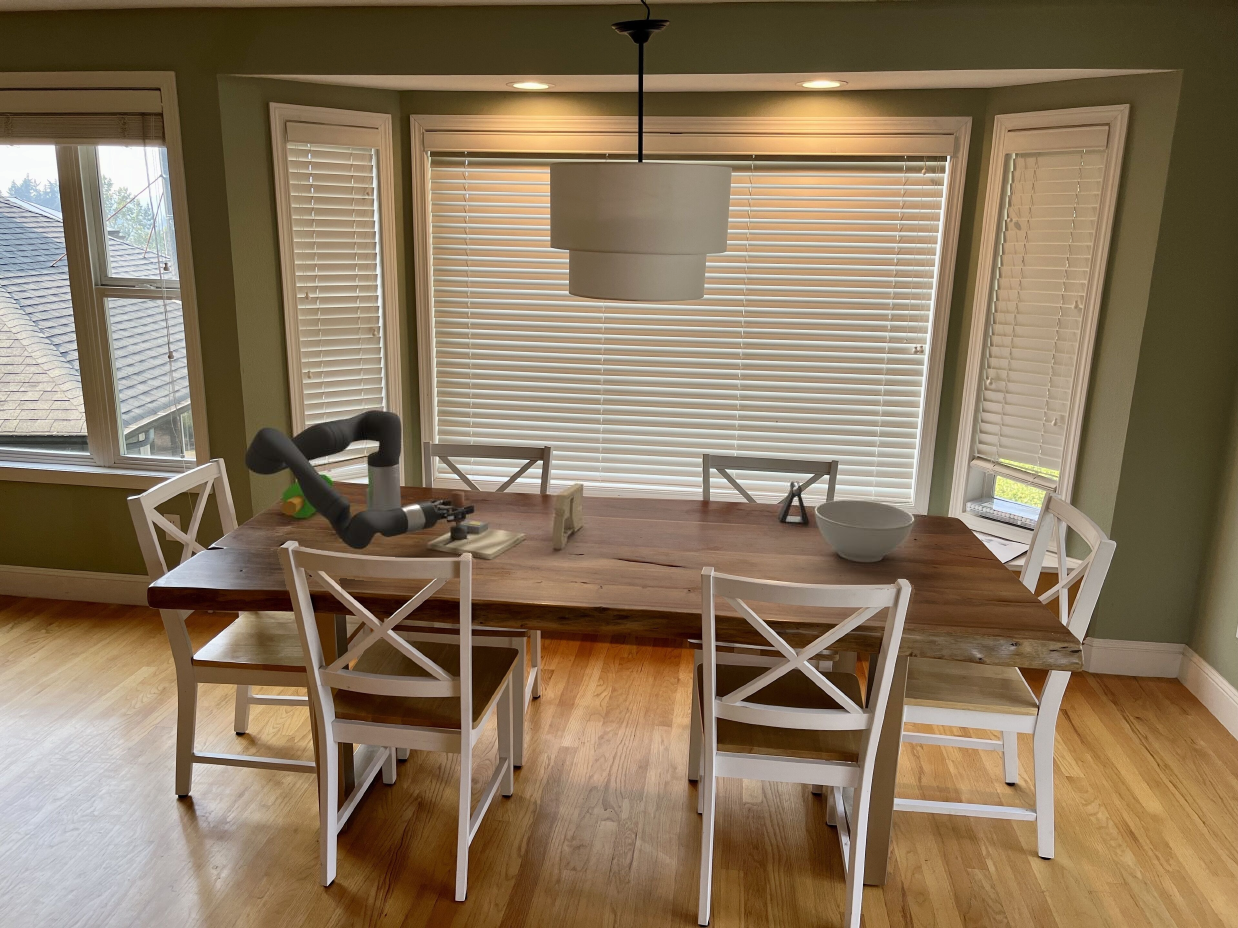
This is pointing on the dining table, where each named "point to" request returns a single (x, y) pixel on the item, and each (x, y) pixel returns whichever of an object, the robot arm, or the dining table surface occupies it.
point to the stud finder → (475, 526)
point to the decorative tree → (298, 501)
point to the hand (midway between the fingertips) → (463, 505)
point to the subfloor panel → (478, 543)
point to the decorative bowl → (863, 528)
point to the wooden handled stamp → (458, 530)
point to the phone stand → (787, 505)
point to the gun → (567, 514)
